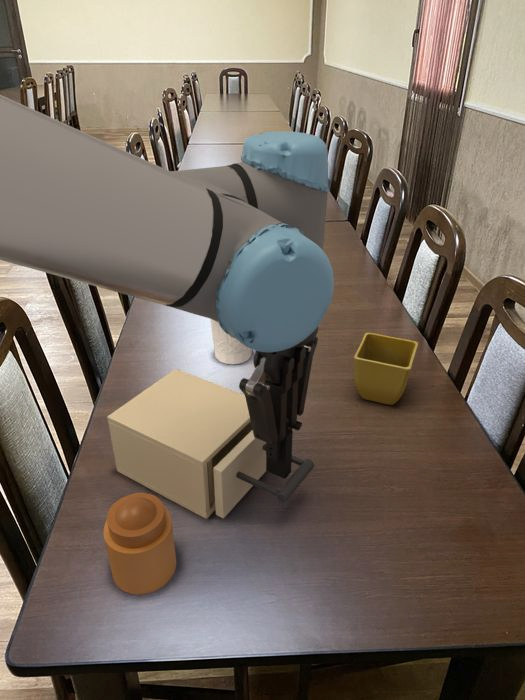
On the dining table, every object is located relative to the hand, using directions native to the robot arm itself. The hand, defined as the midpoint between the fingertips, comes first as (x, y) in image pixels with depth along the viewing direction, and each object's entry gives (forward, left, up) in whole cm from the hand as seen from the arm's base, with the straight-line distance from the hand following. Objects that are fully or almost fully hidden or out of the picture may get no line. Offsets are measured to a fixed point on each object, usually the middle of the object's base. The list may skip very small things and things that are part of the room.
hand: (278, 471), depth 66 cm
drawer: (0, +8, -5) cm, 9 cm away
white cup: (+27, +26, -6) cm, 38 cm away
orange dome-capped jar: (-16, +8, -6) cm, 19 cm away
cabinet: (0, +14, -6) cm, 15 cm away
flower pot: (+30, -2, -6) cm, 31 cm away
